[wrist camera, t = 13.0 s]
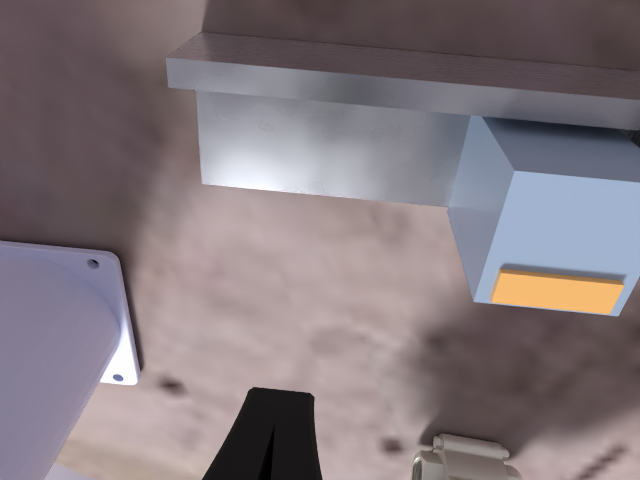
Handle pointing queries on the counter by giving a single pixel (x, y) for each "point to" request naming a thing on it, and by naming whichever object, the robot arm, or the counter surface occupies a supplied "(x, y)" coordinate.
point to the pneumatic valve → (463, 460)
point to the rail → (372, 112)
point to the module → (548, 215)
